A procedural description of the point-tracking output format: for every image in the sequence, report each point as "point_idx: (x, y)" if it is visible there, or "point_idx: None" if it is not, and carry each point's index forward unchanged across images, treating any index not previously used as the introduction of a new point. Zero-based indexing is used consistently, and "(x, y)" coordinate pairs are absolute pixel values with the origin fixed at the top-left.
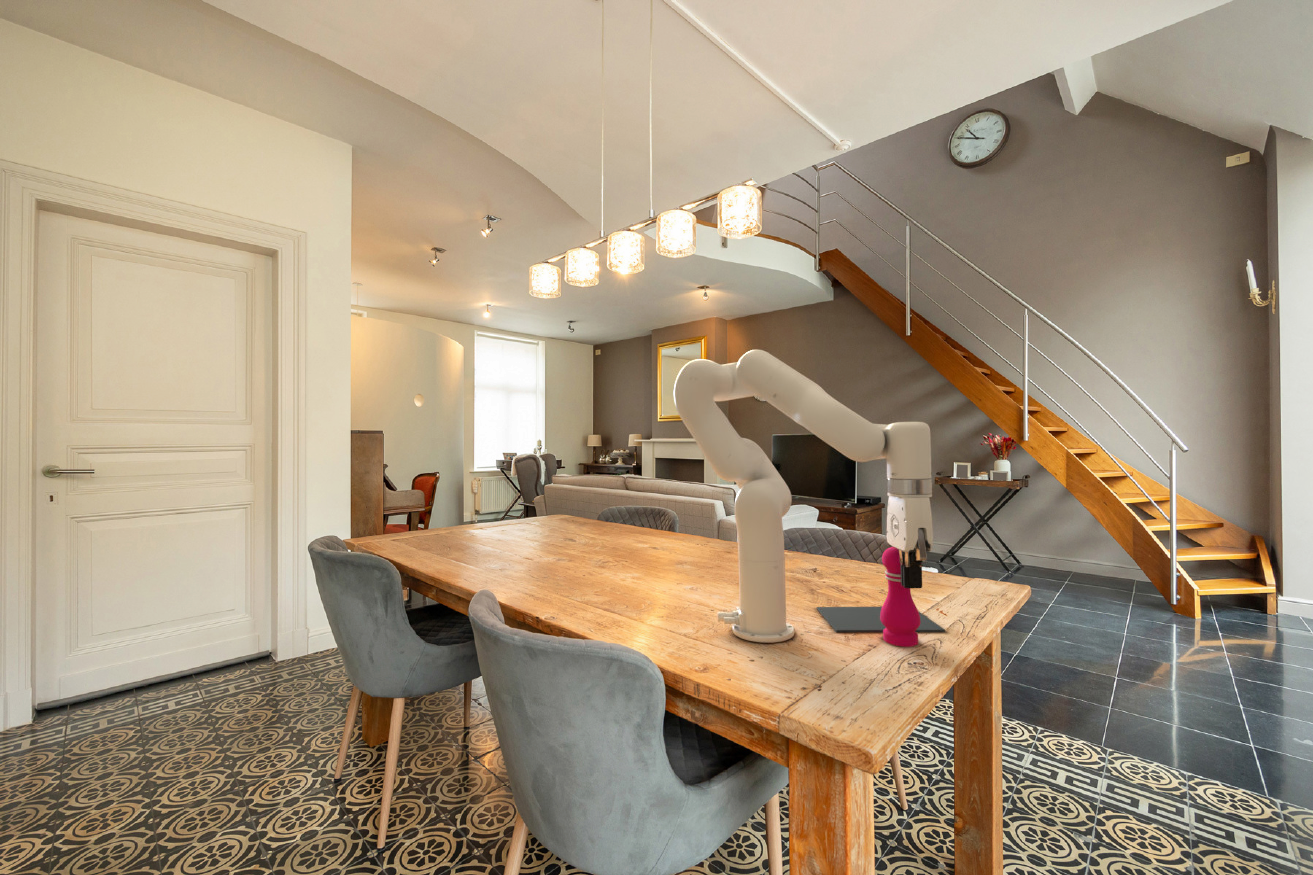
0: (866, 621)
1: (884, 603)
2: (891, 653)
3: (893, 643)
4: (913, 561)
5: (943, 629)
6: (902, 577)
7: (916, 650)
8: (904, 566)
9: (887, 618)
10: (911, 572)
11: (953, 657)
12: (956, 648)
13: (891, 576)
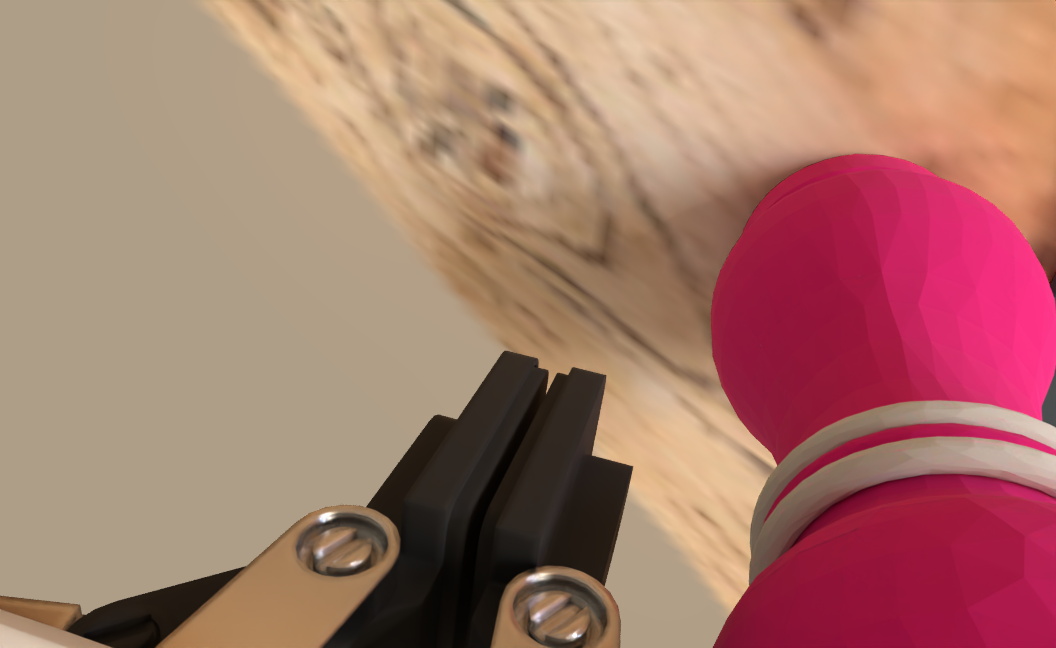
0: None
1: (959, 263)
2: (664, 78)
3: (793, 175)
4: (160, 592)
5: None
6: (547, 422)
7: (678, 261)
8: (412, 511)
9: (829, 192)
10: (377, 502)
11: (551, 379)
12: (661, 475)
13: (887, 445)
